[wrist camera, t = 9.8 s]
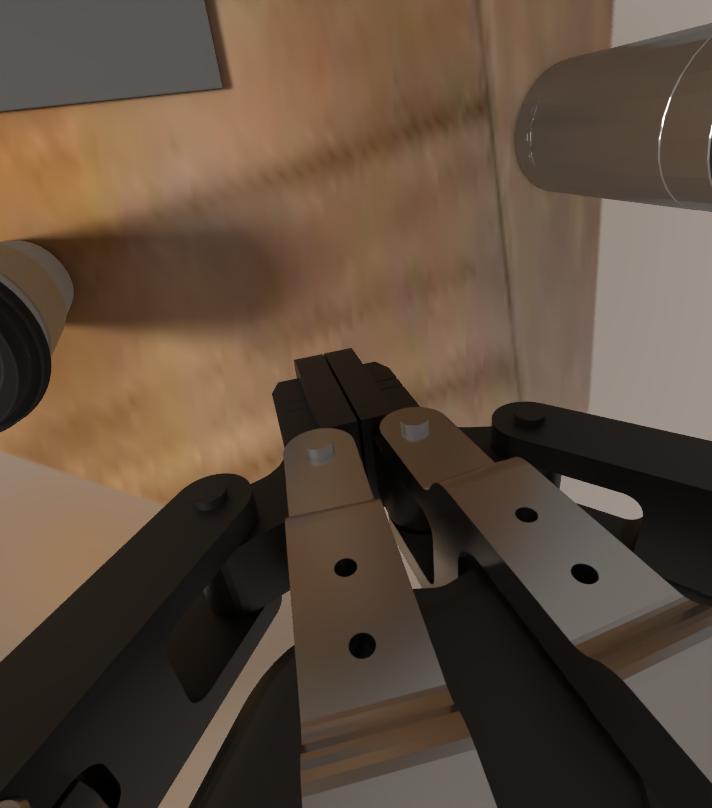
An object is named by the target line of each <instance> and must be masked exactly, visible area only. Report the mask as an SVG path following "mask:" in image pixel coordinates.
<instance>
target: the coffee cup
mask: <svg viewBox="0 0 712 808" xmlns="http://www.w3.org/2000/svg"><path fill="white" fill-rule="evenodd" d="M73 298H74V288H73V283H72V280H71V278H70V276H69V274H68V272H67V271H66V269H65V268H64V266H63V265H62V264H61V262H60V261H59V260H58V259H57V258H56V257H55V256H54V255H52V254H51V253H50V252H49V251H47V250H46V249H44V248H42V247H41V246H39V245H36V244H34V243H31V242H26V241H21V240H10V241H3V242H0V432H2V431H4V430H6V429H8V428H10V427H11V426H13V425H14V424H16V423H17V422H19V421H20V420H21V419H23V418H24V417H26V416H27V415H28V414H29V413H30V412H31V411H32V410H33V409H34V408H35V407H36V406H37V405H38V404H39V402H40V401H41V399H42V398H43V396H44V394H45V392H46V390H47V387H48V384H49V381H50V375H51V356H52V354H53V352H54V349H55V347H56V345H57V343H58V340H59V338H60V336H61V334H62V331H63V329H64V326H65V323H66V316H67V313H68V311H69V309H70V307H71V304H72V301H73Z"/></svg>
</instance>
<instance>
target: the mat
mask: <svg viewBox="0 0 712 808" xmlns="http://www.w3.org/2000/svg"><path fill="white" fill-rule="evenodd" d="M222 88H223V87H222V83H221V78H220V73H219V68H218V64H217V59H216V54H215V49H214V45H213V40H212V35H211V30H210V26H209V21H208V16H207V11H206V6H205V2H204V0H0V112H5V111H15V110H24V109H34V108H43V107H53V106H62V105H72V104H81V103H91V102H100V101H110V100H119V99H129V98H138V97H148V96H157V95H166V94H176V93H185V92H195V91H204V90H214V89H222Z"/></svg>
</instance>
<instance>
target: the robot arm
mask: <svg viewBox="0 0 712 808" xmlns="http://www.w3.org/2000/svg"><path fill="white" fill-rule="evenodd" d="M515 150H516V154H517V159H518V163H519V165H520V167H521V170H522V172H523V173H524V175H525V176H526V177H527V179H528V180H529V181H530V182H531V183H532V184H534V185H535V186H536V187H538V188H541V189H543V190H546V191H552V192H560V193H568V194H575V195H581V196H589V197H597V198H605V199H613V200H621V201H629V202H636V203H644V204H652V205H660V206H668V207H677V208H684V209H692V210H702V211H710V212H712V23H710V24H706V25H702V26H698V27H694V28H690V29H686V30H682V31H678V32H674V33H670V34H666V35H662V36H658V37H654V38H650V39H646V40H642V41H638V42H634V43H630V44H626V45H622V46H618V47H614V48H610V49H605V50H601V51H597V52H593V53H589V54H585V55H581V56H577V57H573V58H569V59H567V60H564V61H561V62H559V63H557V64H555V65H554V66H552V67H551V68H549V69H548V70H546V71H545V72H544V73H543V74H542V75H541V76H540V77H539V78H538V79H537V80H536V82H535V83H534V85H533V86H532V88H531V89H530V90H529V92H528V94H527V96H526V98H525V100H524V102H523V104H522V106H521V109H520V113H519V116H518V119H517V124H516V132H515ZM294 365H295V371H296V376H297V379H293V380H288V381H283V382H279V383H278V384H277V386H276V387H275V389H274V391H273V393H272V396H273V400H274V404H275V409H276V413H277V418H278V422H279V426H280V431H281V435H282V440H283V444H284V448H285V449H284V454H283V456H284V459H283V461H282V463H281V464H280V465H279V467H278V468H277V469H276V470H274V471H273V472H272V473H271V474H269V475H268V476H266V477H264V478H262V479H261V480H259V481H256V482H254V483H252V484H250V483H249V482H248V481H247V480H246V479H245V478H244V477H242V476H239V475H236V474H216V475H211V476H207V477H204V478H202V479H199V480H197V481H195V482H193V483H191V484H190V485H188V486H187V487H185V488H184V489H183V490H182V491H180V492H179V493H178V494H177V495H176V496H175V497H174V498H173V499H172V500H171V501H170V502H169V503H168V504H167V505H166V506H165V507H164V508H163V509H161V510H160V511H159V512H158V513H157V514H156V515H155V516H154V517H153V518H152V519H151V520H150V521H149V522H148V523H147V524H146V525H145V526H144V527H142V529H140V530H139V531H138V532H137V533H136V534H135V535H134V536H133V537H132V538H131V539H130V540H129V541H128V542H127V543H126V544H125V545H124V546H122V547H121V548H120V549H119V550H118V551H117V552H116V553H115V554H114V555H113V556H112V557H111V558H110V559H109V560H108V561H107V562H106V563H105V564H103V565H102V566H101V567H100V568H99V569H98V570H97V571H96V572H95V573H94V574H93V575H92V576H91V577H90V578H89V579H88V580H87V581H86V582H85V583H84V584H82V585H81V586H80V587H79V588H78V589H77V590H76V591H75V592H74V593H73V594H72V595H71V596H70V597H69V598H68V599H67V600H66V601H65V602H64V603H62V604H61V605H60V606H59V607H58V608H57V609H56V610H55V611H54V612H53V613H52V614H51V615H50V616H49V617H48V618H47V619H46V620H44V621H43V623H41V624H40V625H39V626H38V627H37V628H36V629H35V630H34V631H33V632H32V633H31V634H30V635H29V636H28V637H27V638H25V640H23V641H22V642H21V643H20V644H19V645H18V646H17V647H16V648H15V649H14V650H13V651H12V652H11V653H10V654H9V655H8V656H6V657H5V658H4V659H3V660H2V661H1V662H0V808H158V806H159V804H160V803H161V801H162V799H163V798H164V796H165V795H166V793H167V791H168V790H169V788H170V786H171V785H172V783H173V782H174V780H175V778H176V777H177V775H178V774H179V772H180V770H181V769H182V767H183V765H184V763H185V762H186V761H187V759H188V757H189V756H190V754H191V752H192V751H193V749H194V748H195V746H196V744H197V743H198V741H199V739H200V738H201V736H202V735H203V733H204V731H205V730H206V728H207V726H208V725H209V723H210V721H211V720H212V718H213V717H214V715H215V713H216V712H217V710H218V709H219V707H220V705H221V704H222V702H223V700H224V699H225V697H226V696H227V694H228V692H229V691H230V689H231V687H232V686H233V684H234V682H235V681H236V679H237V678H238V676H239V674H240V673H241V671H242V670H243V668H244V666H245V665H246V663H247V661H248V660H249V658H250V656H251V655H252V653H253V651H254V650H255V648H256V647H257V645H258V643H259V641H260V640H261V639H262V637H263V635H264V633H265V632H266V630H267V629H268V627H269V626H270V624H271V622H272V621H273V619H274V617H275V616H276V614H277V612H278V610H279V608H280V605H281V601H282V595H283V594H284V593H286V592H288V591H289V590H290V594H291V606H292V618H293V632H294V644H295V645H294V646H292V647H291V648H290V649H288V650H287V651H286V652H285V653H284V654H283V655H282V656H281V657H280V658H279V659H278V660H277V661H276V662H275V663H274V664H273V665H272V666H271V667H270V668H269V670H268V671H267V672H266V673H265V674H264V675H263V676H262V678H261V679H260V681H259V682H258V684H257V685H256V686H255V688H254V689H253V691H252V692H251V694H250V695H249V697H248V698H247V700H246V702H245V704H244V705H243V707H242V709H241V711H240V713H239V714H238V716H237V718H236V720H235V722H234V724H233V726H232V728H231V729H230V731H229V733H228V735H227V737H226V739H225V741H224V742H223V744H222V746H221V748H220V750H219V752H218V754H217V755H216V757H215V759H214V761H213V763H212V765H211V767H210V768H209V770H208V772H207V774H206V776H205V778H204V780H203V781H202V783H201V785H200V787H199V789H198V791H197V793H196V795H195V797H194V798H193V800H192V802H191V804H190V806H189V808H712V441H708V440H704V439H699V438H695V437H690V436H686V435H681V434H677V433H672V432H668V431H663V430H659V429H654V428H650V427H645V426H640V425H636V424H632V423H627V422H623V421H618V420H614V419H609V418H605V417H600V416H596V415H591V414H587V413H582V412H578V411H573V410H569V409H564V408H560V407H555V406H551V405H546V404H542V403H536V402H514V403H510V404H506V405H504V406H501V407H500V408H498V409H497V410H496V411H495V412H494V413H493V415H492V426H490V427H457V426H456V425H455V424H454V423H453V422H452V421H450V420H449V419H448V418H447V417H446V416H445V415H444V414H443V413H441V412H439V411H437V410H434V409H430V408H425V407H420V406H419V405H418V404H417V402H416V401H415V400H414V399H413V397H412V396H411V395H410V394H409V392H408V391H407V390H406V389H405V387H403V386H402V384H401V382H400V381H399V380H398V379H396V376H395V375H394V374H393V372H392V371H391V370H390V369H389V368H388V367H386V366H383V365H381V364H379V363H377V362H371V363H366V364H362V362H361V361H360V359H359V358H358V357H357V355H356V354H355V352H354V351H353V349H352V348H349V349H344V350H339V351H334V352H330V353H325V354H324V355H322V354H320V355H316V356H311V357H306V358H301V359H297V360H294ZM561 475H564V476H567V477H570V478H574V479H578V480H581V481H584V482H587V483H590V484H594V485H598V486H600V487H604V488H607V489H611V490H614V491H617V492H621V493H624V494H626V495H628V496H630V497H632V498H633V499H635V500H636V501H637V502H638V503H639V505H640V506H641V508H642V510H643V517H642V518H640V519H636V520H628V519H623V518H620V517H617V516H614V515H611V514H608V513H605V512H602V511H599V510H596V509H593V508H590V507H586V506H583V505H580V504H577V503H575V502H574V501H572V500H571V499H570V498H569V497H568V496H566V495H565V494H564V493H563V492H562V491H561V490H560V489H559V488H560V482H561ZM384 507H386V509H387V512H388V515H389V521H388V518H387V516H386V513H385V510H384ZM397 545H398V547H399V549H400V550H401V552H402V554H403V555H404V557H405V559H406V561H407V563H408V564H409V566H410V568H411V570H412V571H413V573H414V575H415V576H416V578H417V580H418V582H419V583H420V585H421V587H422V588H421V589H412V586H411V584H410V581H409V578H408V575H407V572H406V569H405V567H404V564H403V561H402V558H401V555H400V552H399V550H398V547H397Z"/></svg>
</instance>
